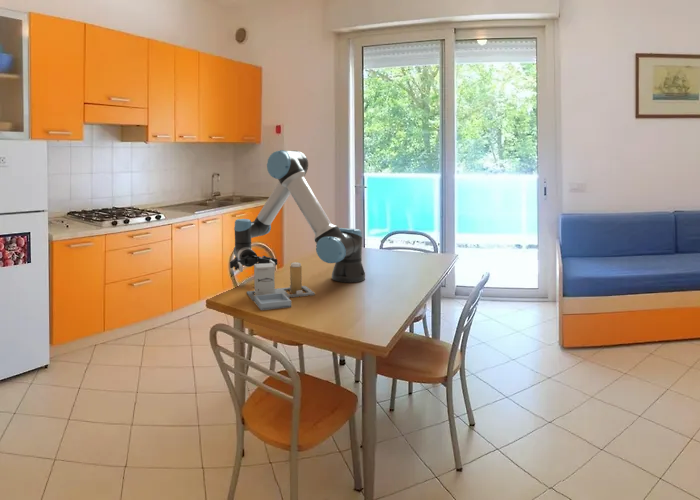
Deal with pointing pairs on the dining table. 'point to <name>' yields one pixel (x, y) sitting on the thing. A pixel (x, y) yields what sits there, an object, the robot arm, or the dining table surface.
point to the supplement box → (264, 279)
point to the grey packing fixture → (283, 290)
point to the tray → (272, 301)
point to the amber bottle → (295, 277)
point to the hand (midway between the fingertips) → (258, 267)
